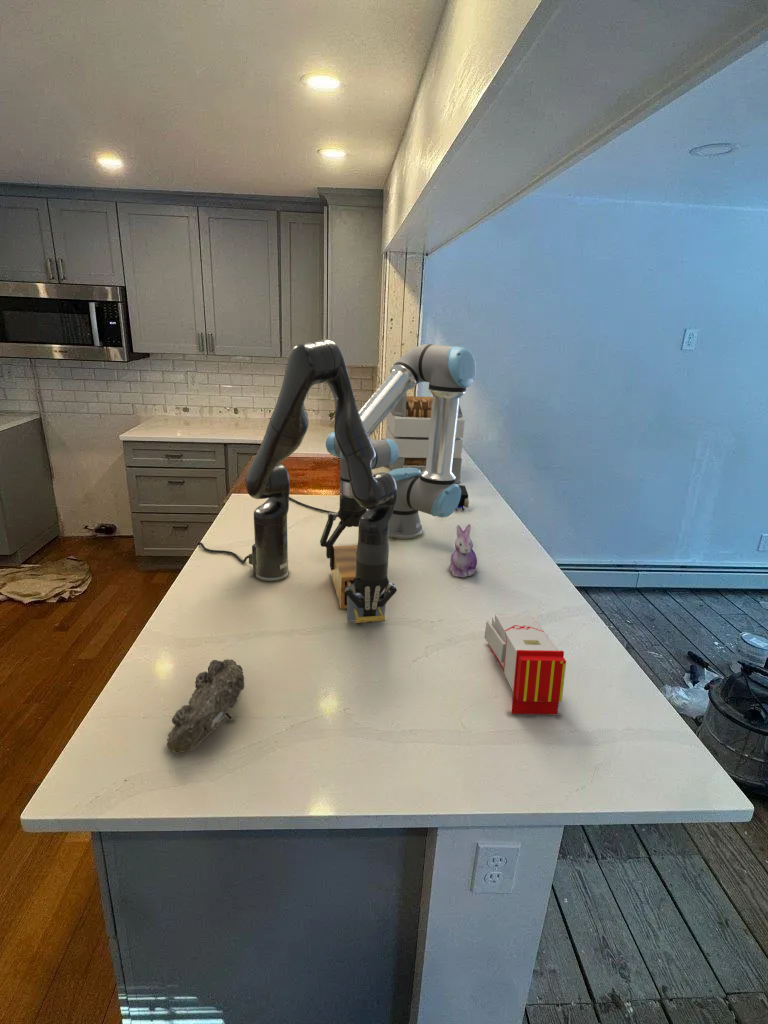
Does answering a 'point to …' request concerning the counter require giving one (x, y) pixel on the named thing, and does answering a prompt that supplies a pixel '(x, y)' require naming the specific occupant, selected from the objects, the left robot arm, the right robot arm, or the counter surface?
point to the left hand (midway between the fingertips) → (369, 620)
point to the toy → (527, 663)
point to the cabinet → (343, 570)
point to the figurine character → (463, 498)
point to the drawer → (361, 609)
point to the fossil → (206, 705)
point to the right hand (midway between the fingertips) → (351, 567)
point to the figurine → (463, 554)
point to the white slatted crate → (417, 433)
